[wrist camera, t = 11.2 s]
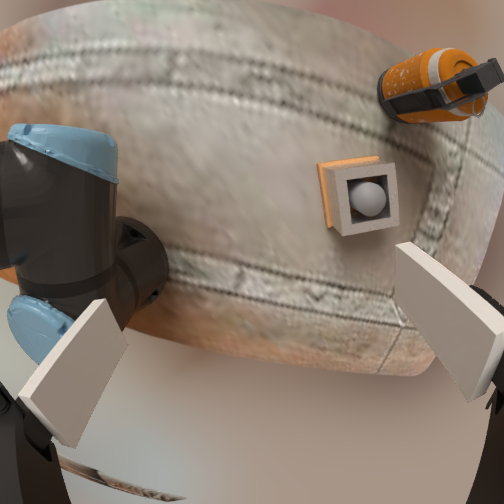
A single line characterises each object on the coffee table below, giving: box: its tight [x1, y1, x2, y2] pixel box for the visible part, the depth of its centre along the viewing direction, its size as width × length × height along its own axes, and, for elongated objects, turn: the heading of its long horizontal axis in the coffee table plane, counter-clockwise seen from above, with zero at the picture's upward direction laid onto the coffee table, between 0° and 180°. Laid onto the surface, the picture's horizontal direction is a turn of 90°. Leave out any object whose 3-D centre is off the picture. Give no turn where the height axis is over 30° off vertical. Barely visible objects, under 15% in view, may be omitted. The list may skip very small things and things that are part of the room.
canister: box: [377, 48, 504, 124], centre depth 24 cm, size 9×11×20 cm
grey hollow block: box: [322, 160, 400, 236], centre depth 34 cm, size 8×8×6 cm
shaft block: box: [317, 156, 386, 228], centre depth 35 cm, size 9×9×8 cm
